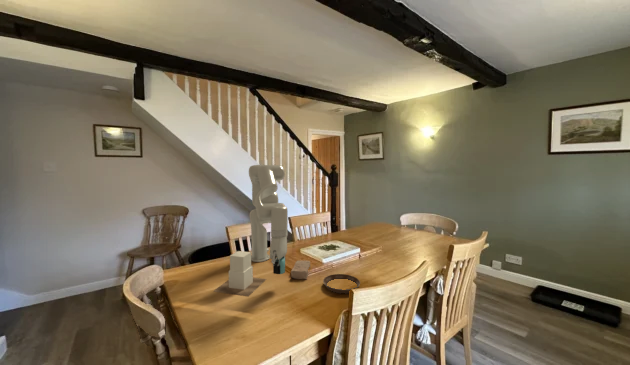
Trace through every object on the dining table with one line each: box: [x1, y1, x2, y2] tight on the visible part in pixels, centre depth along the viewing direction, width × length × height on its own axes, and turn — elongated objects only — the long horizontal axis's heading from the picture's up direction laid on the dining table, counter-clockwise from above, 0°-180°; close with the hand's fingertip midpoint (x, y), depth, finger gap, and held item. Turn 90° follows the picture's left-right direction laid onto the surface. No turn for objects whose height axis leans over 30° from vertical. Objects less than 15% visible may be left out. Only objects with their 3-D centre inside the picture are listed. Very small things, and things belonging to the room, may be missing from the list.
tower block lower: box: [228, 265, 254, 290], centre depth 122 cm, size 8×8×8 cm
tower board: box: [213, 276, 267, 298], centre depth 123 cm, size 18×18×2 cm
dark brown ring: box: [322, 273, 361, 294], centre depth 124 cm, size 18×18×3 cm
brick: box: [290, 260, 311, 280], centre depth 140 cm, size 17×8×5 cm, turn 174°
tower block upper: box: [229, 250, 252, 272], centre depth 122 cm, size 7×7×7 cm
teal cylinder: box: [276, 257, 286, 275], centre depth 119 cm, size 5×5×6 cm
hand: (279, 270), depth 120 cm, fingers closed on teal cylinder, 5 cm apart
